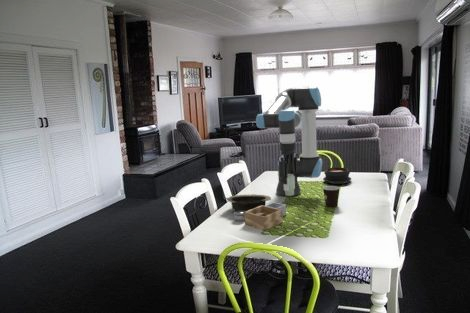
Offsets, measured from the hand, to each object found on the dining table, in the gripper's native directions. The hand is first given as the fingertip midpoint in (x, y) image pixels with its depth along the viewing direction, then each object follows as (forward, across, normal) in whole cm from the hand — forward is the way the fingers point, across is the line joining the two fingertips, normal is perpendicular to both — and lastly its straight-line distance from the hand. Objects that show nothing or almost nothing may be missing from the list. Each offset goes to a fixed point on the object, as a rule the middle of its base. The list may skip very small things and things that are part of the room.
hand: (289, 189), depth 185 cm
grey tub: (+16, 0, -9) cm, 18 cm away
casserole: (+16, -79, -20) cm, 83 cm away
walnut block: (+15, +13, -10) cm, 22 cm away
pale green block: (+3, 0, 0) cm, 3 cm away
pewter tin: (+16, +16, -20) cm, 30 cm away
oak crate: (+16, +13, -6) cm, 21 cm away
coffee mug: (+16, -32, +4) cm, 36 cm away
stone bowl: (+16, 0, -28) cm, 33 cm away
